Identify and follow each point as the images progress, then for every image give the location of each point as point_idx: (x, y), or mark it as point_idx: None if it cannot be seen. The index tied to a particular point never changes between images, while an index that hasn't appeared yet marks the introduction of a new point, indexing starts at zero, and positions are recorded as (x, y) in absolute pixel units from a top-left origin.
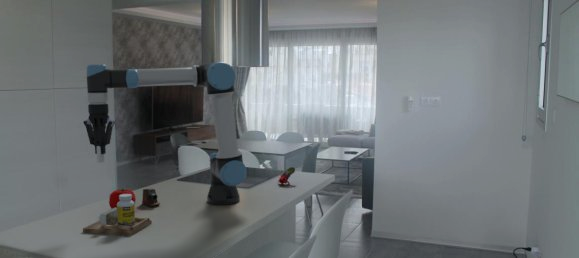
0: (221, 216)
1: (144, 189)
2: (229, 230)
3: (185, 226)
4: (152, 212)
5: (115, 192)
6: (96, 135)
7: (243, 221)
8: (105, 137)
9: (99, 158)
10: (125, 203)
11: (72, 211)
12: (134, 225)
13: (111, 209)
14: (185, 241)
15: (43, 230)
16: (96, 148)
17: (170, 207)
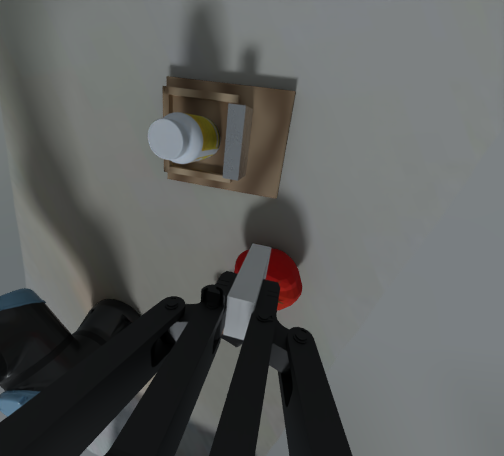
0: (76, 229)
1: (241, 340)
2: (20, 142)
3: (101, 162)
4: (207, 257)
5: (273, 276)
6: (228, 393)
7: (29, 200)
8: (133, 342)
9: (253, 254)
10: (166, 118)
11: (395, 269)
12: (166, 106)
13: (237, 159)
14: (50, 55)
15: (416, 97)
16: (264, 302)
17: (188, 289)
